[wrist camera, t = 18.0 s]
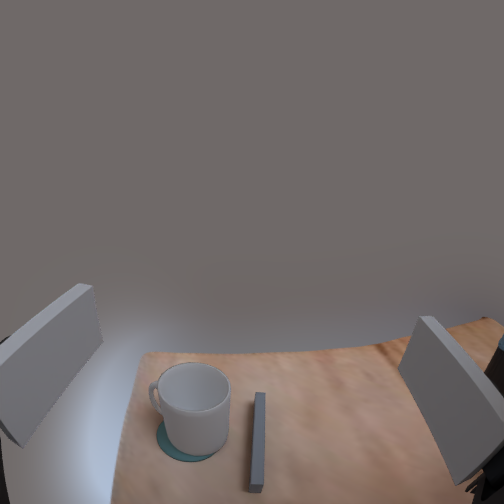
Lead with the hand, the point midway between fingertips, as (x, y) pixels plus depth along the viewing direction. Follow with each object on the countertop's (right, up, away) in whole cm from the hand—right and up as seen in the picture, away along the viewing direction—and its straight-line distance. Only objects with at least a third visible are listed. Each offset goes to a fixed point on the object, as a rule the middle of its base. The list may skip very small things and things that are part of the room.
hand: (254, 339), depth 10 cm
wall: (+1, -26, +24) cm, 36 cm away
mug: (-10, -25, +25) cm, 36 cm away
